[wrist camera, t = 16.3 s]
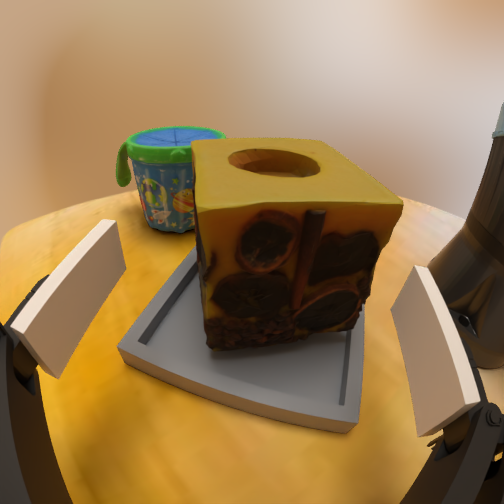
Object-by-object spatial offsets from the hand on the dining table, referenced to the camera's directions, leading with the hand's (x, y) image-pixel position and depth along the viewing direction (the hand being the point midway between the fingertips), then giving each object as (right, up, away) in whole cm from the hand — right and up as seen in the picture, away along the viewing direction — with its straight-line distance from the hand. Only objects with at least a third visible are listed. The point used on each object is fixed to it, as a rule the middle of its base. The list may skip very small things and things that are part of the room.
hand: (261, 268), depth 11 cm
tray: (0, -5, +9) cm, 10 cm away
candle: (+1, -2, +9) cm, 10 cm away
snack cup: (-9, +4, +21) cm, 23 cm away
